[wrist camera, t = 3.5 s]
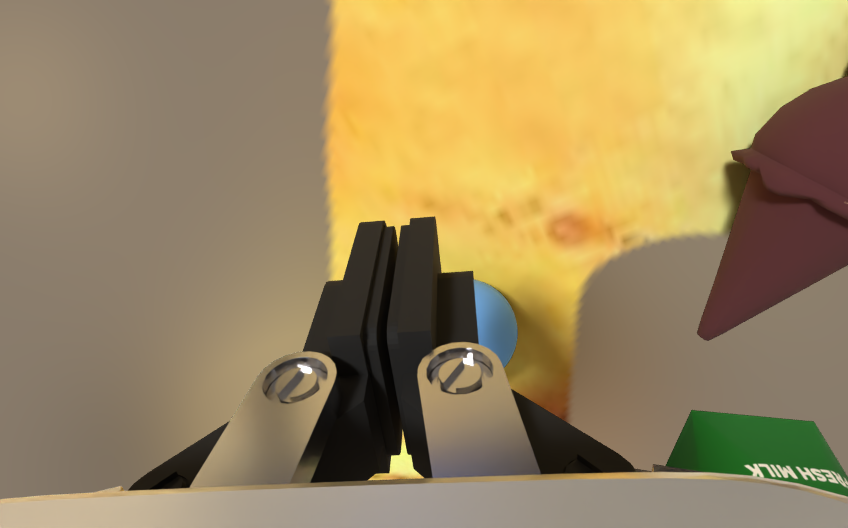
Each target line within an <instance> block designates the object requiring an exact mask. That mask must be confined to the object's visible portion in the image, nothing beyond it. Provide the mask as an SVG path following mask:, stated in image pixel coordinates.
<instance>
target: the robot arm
mask: <svg viewBox="0 0 848 528" xmlns="http://www.w3.org/2000/svg"><path fill="white" fill-rule="evenodd" d="M402 431H403V432H404V438H405V443H406V449H407V453H408V455H411V456H412V462H413V467H414V469H415V470H416V471H417V472H418V473H419V474H420V475H422V476H423V477H424V478H423V479H397V480H371V481H367V480H368V479H370V478H371V477H372V476H373V475H374V474H378V473H389V471H390V461H391V455H400V453H401V443H402ZM0 528H848V497H847V496H843V495H839V494H836V493H832V492H828V491H824V490H821V489H817V488H813V487H810V486H806V485H802V484H798V483H792V482H786V481H780V480H775V479H769V478H763V477H757V476H748V475H736V474H723V473H711V472H701V471H695V470H688V469H681V468H675V467H668V466H662V465H655V464H653V468H652V471H646V470H640V469H634V467H633V466H632V465H631V463H629V462H628V461H627V460H626V459H624V458H623V457H622V456H621V455H619V454H618V453H616V452H615V451H613V450H611V449H610V448H608V447H607V446H605V445H603V444H602V443H600V442H598V441H596V440H595V439H593V438H592V437H590V436H588V435H587V434H585V433H583V432H582V431H580V430H578V429H577V428H575V427H573V426H572V425H570V424H568V423H567V422H565V421H564V420H562V419H560V418H559V417H557V416H555V415H554V414H552V413H550V412H549V411H547V410H545V409H544V408H542V407H540V406H539V405H537V404H535V403H534V402H532V401H530V400H529V399H527V398H525V397H524V396H522V395H520V394H519V393H517V392H516V391H514V390H512V389H511V388H510V385H509V382H508V379H507V377H506V374H505V371H504V368H503V365H502V363H501V361H500V359H499V358H498V356H497V355H496V354H495V353H494V352H492V351H491V350H490V349H489V348H487V347H484V346H482V345H479V340H478V328H477V315H476V303H475V290H474V278H473V271H465V272H451V273H441V264H440V255H439V245H438V236H437V226H436V219H435V217H424V218H411V219H410V225H404V226H401V231H400V238H399V245H398V242H397V235H396V230H395V227H394V226H391V227H387V226H386V223H385V221H374V222H361V223H359V226H358V229H357V233H356V236H355V240H354V243H353V247H352V250H351V254H350V257H349V261H348V264H347V268H346V271H345V275H344V278H343V280H339V281H328V282H326V284H325V286H324V289H323V292H322V295H321V298H320V301H319V304H318V307H317V310H316V313H315V316H314V319H313V322H312V325H311V328H310V331H309V334H308V337H307V340H306V343H305V346H304V349H303V352H296V353H293V354H289V355H285V356H283V357H281V358H279V359H277V360H275V361H273V362H272V363H271V364H269V365H268V366H267V367H265V368H264V369H263V371H262V372H261V373H260V374H259V375H258V377H257V378H256V380H255V381H254V383H253V384H252V386H251V388H250V389H249V391H248V393H247V394H246V396H245V398H244V399H243V401H242V402H241V404H240V406H239V407H238V409H237V411H236V412H235V414H234V416H233V417H232V419H231V420H230V421H229V422H227V423H226V424H224V425H223V426H221V427H220V428H218V429H217V430H215V431H213V432H212V433H210V434H209V435H207V436H206V437H204V438H202V439H201V440H199V441H198V442H196V443H194V444H193V445H191V446H190V447H188V448H186V449H185V450H183V451H182V452H180V453H179V454H177V455H175V456H174V457H172V458H171V459H169V460H168V461H166V462H164V463H163V464H161V465H160V466H158V467H156V468H155V469H153V470H152V471H150V472H149V473H147V474H146V475H144V476H143V477H142V478H141V479H139V480H138V481H137V482H135V483H134V484H133V485H132V486H131V488H130V489H129V490H128V491H124V490H123V488H122V486H119V487H114V488H110V489H106V490H101V491H97V492H93V493H78V494H60V495H45V496H33V497H21V498H9V499H0Z"/></svg>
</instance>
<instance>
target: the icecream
mask: <svg viewBox="0 0 848 528" xmlns="http://www.w3.org/2000/svg"><path fill="white" fill-rule="evenodd" d="M731 153H732V157H733V160H735V161H737V162H740V163H742V164H744V165H745V166H746V167H747V168H749V169H751V171H750V174H749V177H748V180H747V183H746V186H745V189H744V192H743V195H742V198H741V201H740V204H739V207H738V211H737V214H736V217H735V220H734V223H733V226H732V229H731V232H730V235H729V238H728V241H727V244H726V248H725V250H724V254H723V256H722V260H721V262H720V266H719V269H718V272H717V275H716V278H715V281H714V284H713V287H712V290H711V293H710V296H709V298H708V301H707V304H706V307H705V310H704V312H703V315H702V318H701V321H700V324H699V328H698V331H697V334H698V335H699V336H700V337H701V338H703V339H704V340H707V341H709V340H711V339H713V338H715V337H717V336H719V335H721V334H723V333H725V332H727V331H728V330H730V329H732V328H734V327H736V326H738V325H739V324H741V323H743V322H745V321H747V320H748V319H750V318H752V317H754V316H756V315H757V314H759V313H761V312H763V311H765V310H767V309H769V308H770V307H772V306H774V305H776V304H777V303H779V302H781V301H783V300H785V299H787V298H789V297H790V296H792V295H794V294H796V293H798V292H800V291H801V290H803V289H805V288H807V287H809V286H810V285H812V284H814V283H816V282H818V281H820V280H821V279H823V278H825V277H827V276H829V275H830V274H832V273H834V272H836V271H837V270H839V269H841V268H843V267H845V266H847V265H848V76H846V77H843V78H841V79H838V80H835V81H832V82H829V83H826V84H823V85H820V86H818V87H815V88H812V89H810V90H808V91H807V92H805V93H804V94H802V95H800V96H799V97H797V98H795V99H794V100H792V101H791V102H789V103H787V104H786V105H784V106H782V107H781V108H780V109H779V110H778V111H777V112H776V113H775V114H774V115H773V116H772V117H771V118H770V119H769V121H768V122H767V123H766V124H765V125H764V126H763V127H762V128H761V129H760V130H759V131H758V132H757V133H756V134H755V137H754V140H753V143H752V146H751V148H748V149H742V150H736V151H731Z"/></svg>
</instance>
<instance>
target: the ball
mask: <svg viewBox="0 0 848 528" xmlns="http://www.w3.org/2000/svg"><path fill="white" fill-rule="evenodd" d="M474 290H475V303H476V315H477V328H478V340H479V345H482V346H484V347H487V348H489V349H490V350H491V351H492V352H494V353H495V354H496V355H497V356H498V358H499V359H500V361H501V363H502V365H503V368H504V367H505V366H506V365H507V364H508V362H509V361H510V359H511V357H512V355H513V353H514V350H515V347H516V343H517V335H518V329H517V322H516V318H515V314H514V312H513V310H512V308H511V306H510V304H509V303H508V301H507V300H506V299H505V297H504V296H503V295H502V294H501V293H500V292H499V291H497V290H496V289H495V288H493V287H492V286H490V285H488V284H486V283H484V282H481V281H478V280H474Z"/></svg>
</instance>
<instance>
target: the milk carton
mask: <svg viewBox="0 0 848 528" xmlns="http://www.w3.org/2000/svg"><path fill="white" fill-rule="evenodd" d="M666 466H668V467H675V468H681V469H688V470H695V471H701V472H711V473H723V474H736V475H748V476H757V477H763V478H769V479H775V480H780V481H786V482H792V483H798V484H802V485H806V486H810V487H813V488H817V489H821V490H824V491H828V492H832V493H836V494H839V495H843V496H847V497H848V477H847V475H846V474H845V472H844V470H843V468H842V467H841V465H840V463H839V462H838V460H837V459H836V457H835V455H834V454H833V452H832V451H831V449H830V447H829V446H828V444H827V442H826V441H825V439H824V437H823V436H822V434H821V432H820V431H819V429H818V428H817V426H816V424H815V423H814V422H813V421H802V420H792V419H781V418H771V417H760V416H749V415H738V414H728V413H717V412H707V411H695V410H691V412H690V414H689V417H688V419H687V421H686V423H685V426H684V427H683V430H682V432H681V434H680V436H679V438H678V440H677V442H676V445H675V447H674V449H673V451H672V453H671V455H670V457H669V459H668V462H667V464H666Z"/></svg>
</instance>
